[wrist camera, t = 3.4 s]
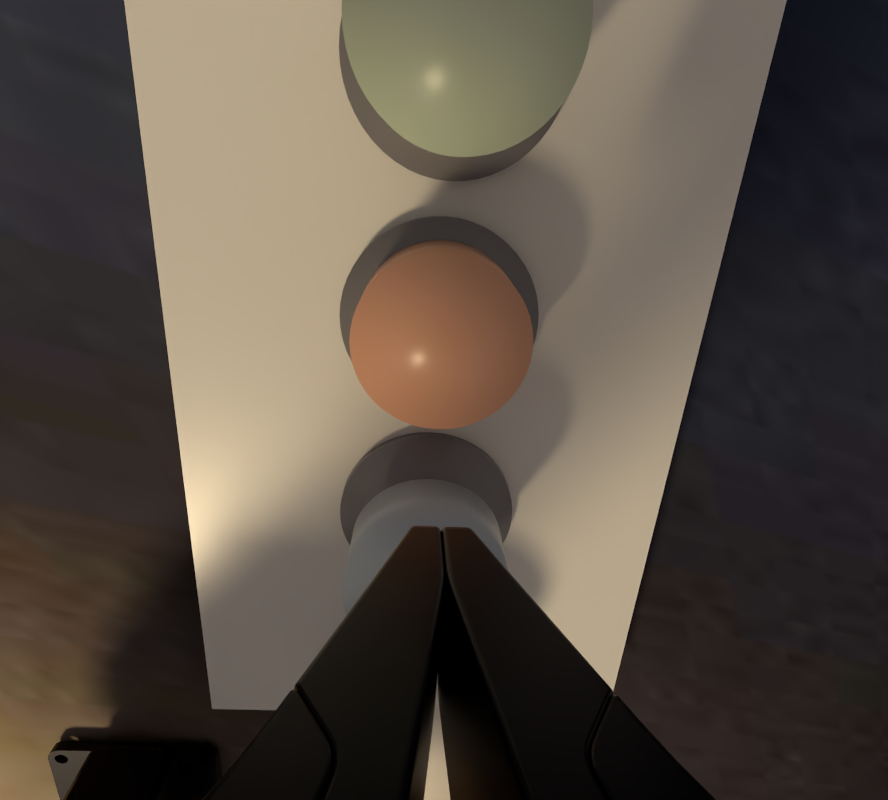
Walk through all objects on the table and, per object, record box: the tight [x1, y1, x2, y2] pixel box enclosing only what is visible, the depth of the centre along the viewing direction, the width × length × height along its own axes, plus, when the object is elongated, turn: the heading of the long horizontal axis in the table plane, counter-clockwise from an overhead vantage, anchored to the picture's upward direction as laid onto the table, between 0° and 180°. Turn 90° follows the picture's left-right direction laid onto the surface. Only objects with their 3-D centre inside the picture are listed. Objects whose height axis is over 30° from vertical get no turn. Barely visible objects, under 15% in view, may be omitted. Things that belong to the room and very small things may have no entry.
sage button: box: [341, 0, 593, 157], centre depth 10 cm, size 4×4×2 cm
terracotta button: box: [349, 240, 533, 429], centre depth 13 cm, size 4×4×2 cm
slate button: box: [342, 479, 508, 614], centre depth 14 cm, size 4×4×2 cm
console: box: [124, 0, 787, 710], centre depth 17 cm, size 23×14×2 cm, turn 176°
